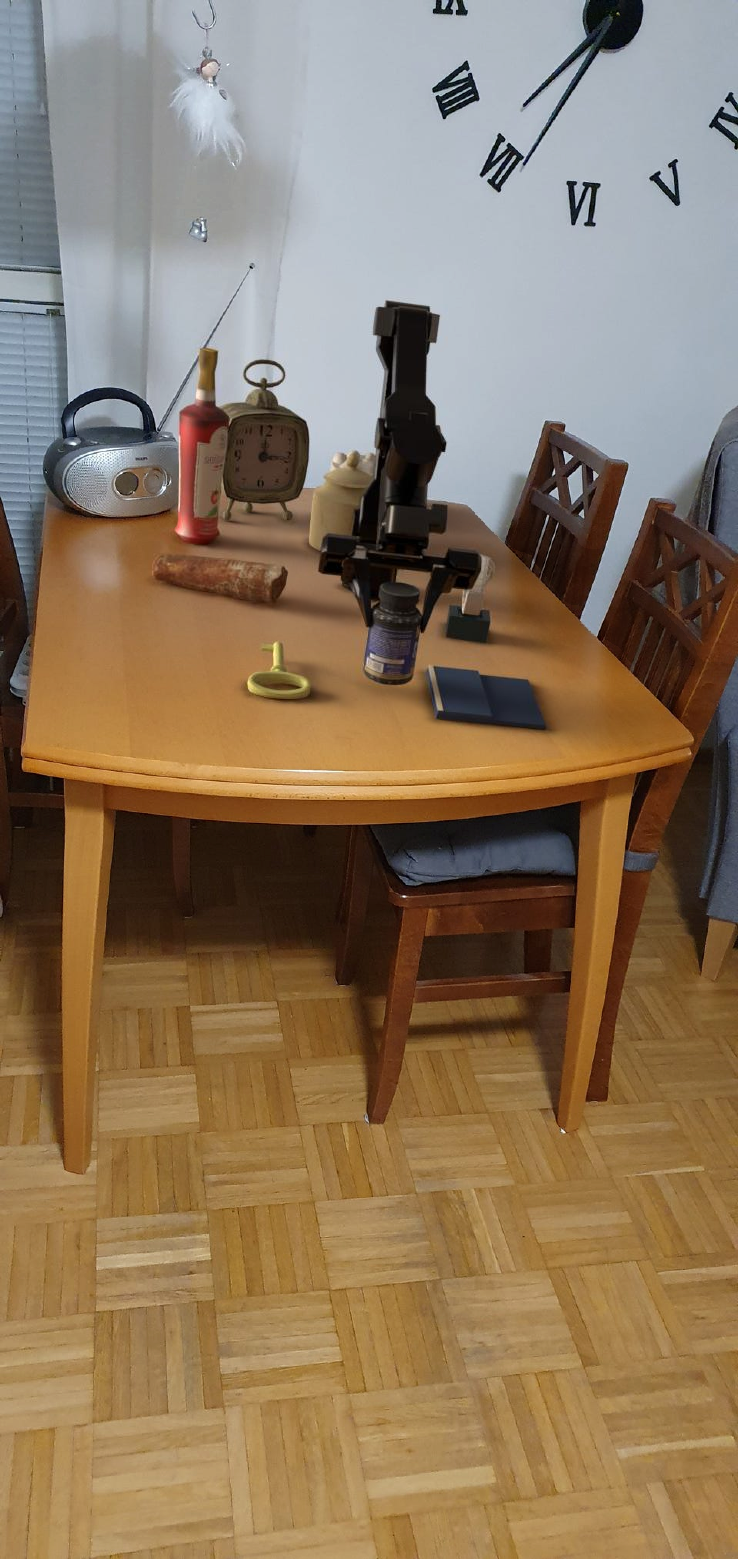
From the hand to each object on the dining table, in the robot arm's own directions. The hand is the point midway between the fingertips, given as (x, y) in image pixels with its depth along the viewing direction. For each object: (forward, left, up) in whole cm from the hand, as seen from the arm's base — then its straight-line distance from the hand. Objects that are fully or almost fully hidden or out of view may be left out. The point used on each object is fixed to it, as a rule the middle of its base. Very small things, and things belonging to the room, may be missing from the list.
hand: (395, 629), depth 138 cm
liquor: (-12, -55, -9) cm, 57 cm away
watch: (-24, -9, -9) cm, 27 cm away
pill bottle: (-1, -1, -7) cm, 7 cm away
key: (+9, -9, -9) cm, 16 cm away
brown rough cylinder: (-1, -35, -9) cm, 36 cm away
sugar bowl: (-34, -43, -9) cm, 56 cm away
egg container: (-50, -60, -1) cm, 78 cm away
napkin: (-10, +7, -8) cm, 15 cm away
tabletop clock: (-28, -62, -9) cm, 69 cm away
